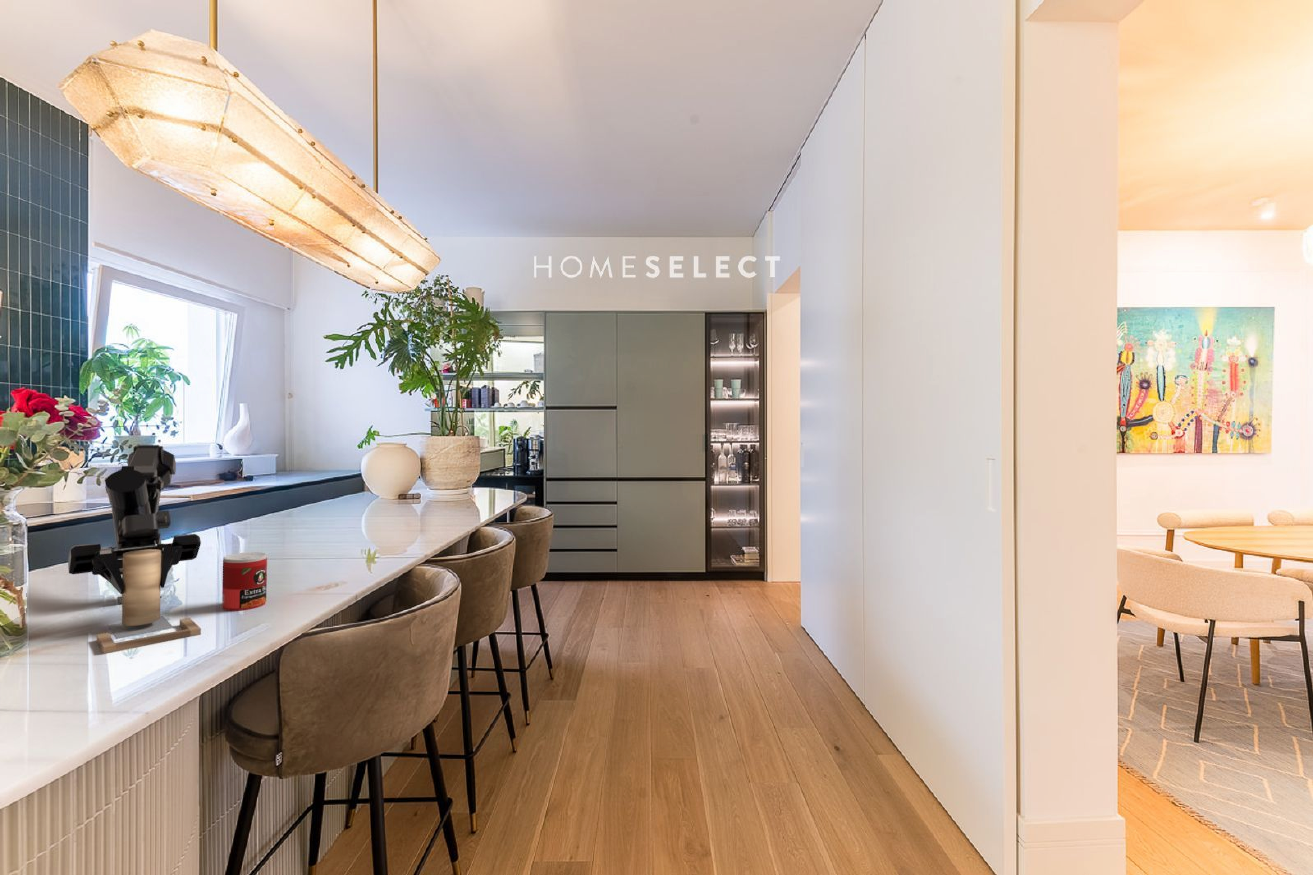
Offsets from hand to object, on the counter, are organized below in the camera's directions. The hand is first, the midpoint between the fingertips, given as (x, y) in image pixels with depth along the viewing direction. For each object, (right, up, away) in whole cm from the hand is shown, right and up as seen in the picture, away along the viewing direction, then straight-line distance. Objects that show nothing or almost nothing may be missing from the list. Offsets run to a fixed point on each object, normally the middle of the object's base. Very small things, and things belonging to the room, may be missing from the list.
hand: (143, 589), depth 109 cm
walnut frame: (+5, -8, -4) cm, 10 cm away
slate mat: (-1, -8, +1) cm, 8 cm away
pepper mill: (-1, -6, +1) cm, 6 cm away
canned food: (+8, -8, +15) cm, 19 cm away
